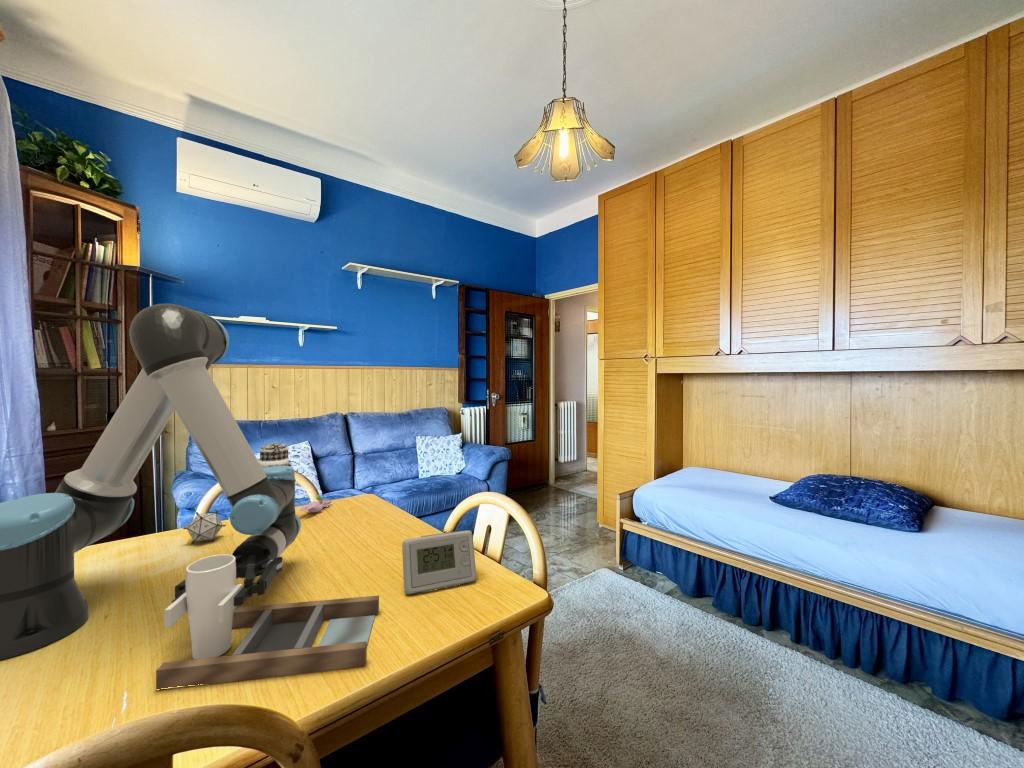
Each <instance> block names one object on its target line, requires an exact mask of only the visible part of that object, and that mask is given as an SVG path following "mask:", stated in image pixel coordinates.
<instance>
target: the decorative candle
mask: <svg viewBox="0 0 1024 768" xmlns="http://www.w3.org/2000/svg"><path fill="white" fill-rule="evenodd" d="M289 449H290V447H287V445H286V444H285V443H283V442H282V443H281V442H272V443H266V444H264V445H263V446H262V447H261V448H260V449H258V452H259V460H258V462H259V463H260V465H261V467H262V469H263V468H266V467H271V466H291V467H292V464H291V462H292V460H290V457H289Z"/></svg>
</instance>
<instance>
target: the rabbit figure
mask: <svg viewBox="0 0 1024 768" xmlns="http://www.w3.org/2000/svg"><path fill="white" fill-rule="evenodd" d="M316 500H317V501H315V500H314V501H311V502H309V503H308V504H307V505H303V506H301V507H300V508H299V512H303V511H304V512H309V513H313V512H317V513H319V512H320V511H322V510H323V509H324V508H323V507H327V506H329V507H330V506H331V505H330V503H332V500H329V501H327V500H326V499H323V497H321V494H320V493H319V494H317V496H316ZM332 504H333V503H332Z"/></svg>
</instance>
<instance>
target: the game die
mask: <svg viewBox="0 0 1024 768" xmlns="http://www.w3.org/2000/svg"><path fill="white" fill-rule="evenodd" d="M218 513H219V510H216V511H215V512H211V513H207V512H206V513H199V512H198V511H196V512H195V514H196V516H195V517H194V518H193V519H192V521H191V522H190V523H189V525H188V526H185V527H183V528H182V529H183V530H187V532H188V533H189V535H190V537H191V539H192V542H191V545H193V544H195V542H202V541H203V542H204V541H212V542H213V543H215V541H216V540H215V537H217V534H218V533H219V532H220V531H221V529H222V528H223V527H226V526H227V525H226V524H223V522H222V521H221V519H220V517H219V515H218Z"/></svg>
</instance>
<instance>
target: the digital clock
mask: <svg viewBox="0 0 1024 768" xmlns="http://www.w3.org/2000/svg"><path fill="white" fill-rule="evenodd" d="M401 547H402V548H401V549H402V572H403V573H402V574H403V590H404V593H405V594H406V595H413V594H417V593H421V592H424V593H427V592H426V591H429V592H431V591H430V590H434V591H436V590H435V589H439V590H442V589H441V588H444V589H446V588H445V587H449V588H452V587H451V586H454V587H456V586H455V585H459V584H461V585H463V584H468V583H472V582H475V581H476V579H477V569H476V568H477V567H476V557H475V546H474V536H473V532H472V531H471V530H470V529H469V530H460V531H449V532H442V533H435V534H428V535H421V536H419V537H414V538H407V539H405V540H403V541H402V546H401ZM459 586H460V585H459Z"/></svg>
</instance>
